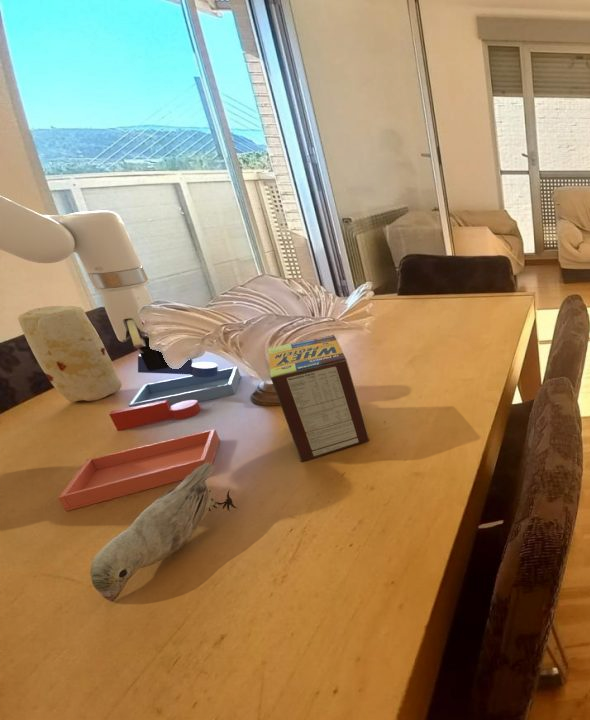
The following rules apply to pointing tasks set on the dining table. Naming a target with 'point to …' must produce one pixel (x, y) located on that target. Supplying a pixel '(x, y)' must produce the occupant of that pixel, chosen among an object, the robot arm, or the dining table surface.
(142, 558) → the decorative bird
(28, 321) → the food model
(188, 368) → the blue spoon
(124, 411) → the red spoon
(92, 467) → the red tray
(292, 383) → the protein box
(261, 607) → the dining table surface
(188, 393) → the blue tray
